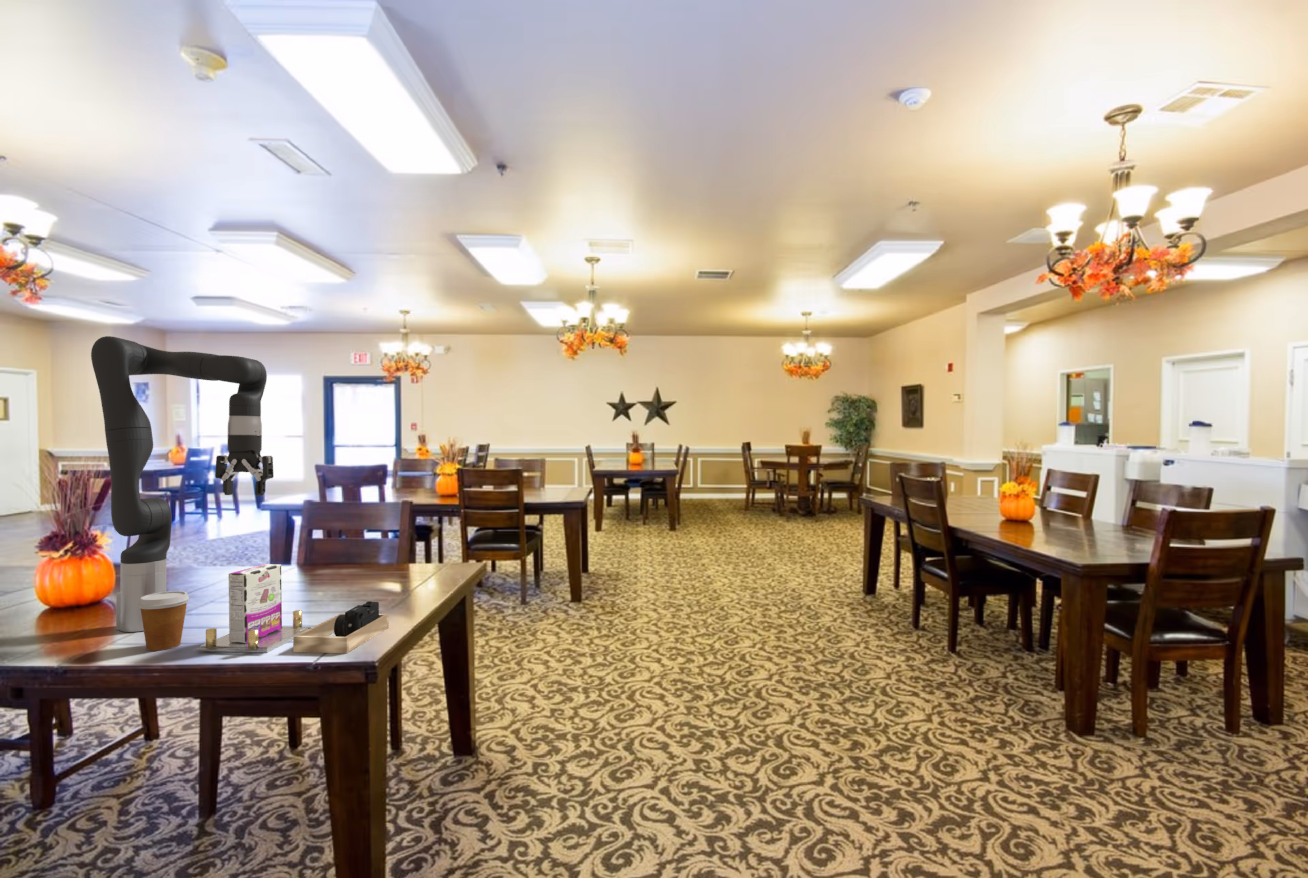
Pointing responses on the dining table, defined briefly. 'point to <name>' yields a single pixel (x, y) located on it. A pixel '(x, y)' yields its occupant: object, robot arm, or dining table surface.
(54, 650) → the dining table surface
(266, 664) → the dining table surface
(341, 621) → the camera
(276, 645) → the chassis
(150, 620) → the disposable coffee cup
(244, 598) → the candy bar box
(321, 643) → the oak frame
